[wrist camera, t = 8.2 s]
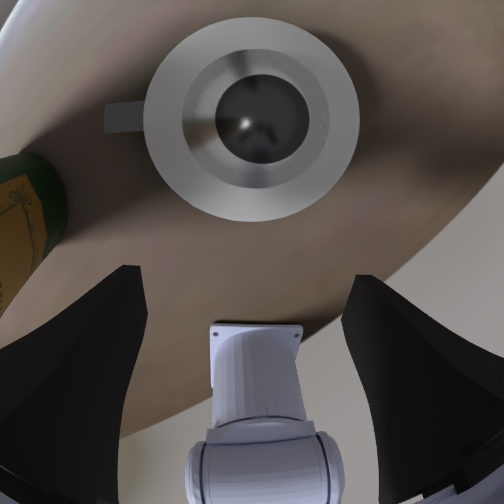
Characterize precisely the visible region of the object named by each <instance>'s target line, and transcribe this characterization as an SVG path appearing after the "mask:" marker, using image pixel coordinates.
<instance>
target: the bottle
mask: <svg viewBox="0 0 504 504" xmlns="http://www.w3.org/2000/svg"><path fill="white" fill-rule="evenodd" d="M66 221H67V211H66V204H65V195H64V188H63V187H62V185H61V183H60V181H59V179H58V178H57V176H56V174H55V172H54V170H53V168H52V166H51V164H49V163H48V162H46V161H45V160H43V159H42V158H40V157H39V156H37V155H36V154H34V153H33V152H28V153H22V154H17V155H12V156H8V157H5V158H1V159H0V318H1V316H2V315H3V313H4V312H5V310H6V309H7V307H8V306H9V304H10V303H11V302H12V300H13V299H14V297H15V296H16V295H17V293H18V292H19V290H20V289H21V288H22V286H23V285H24V284H25V283H26V281H27V280H28V279H29V277H30V276H31V275H32V274H33V272H34V271H35V270H36V269H37V267H38V266H39V265H40V264H41V262H42V261H43V260H44V259H45V258H46V257H47V255H48V254H49V253H50V252H51V251H52V250H53V248H54V247H55V246H56V245H57V244H58V243H59V242H60V241H61V237H62V234H63V230H64V227H65V224H66Z"/></svg>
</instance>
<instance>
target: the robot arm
mask: <svg viewBox="0 0 504 504" xmlns="http://www.w3.org/2000/svg"><path fill="white" fill-rule="evenodd" d="M147 316H148V312H147V306H146V301H145V295H144V289H143V282H142V276H141V269H140V266H133V265H122V266H121V267H119V268H118V269H116V270H115V271H114V272H112V273H111V274H110V275H108V276H107V277H106V278H105V279H103V280H102V281H101V282H100V283H98V284H97V285H96V286H94V287H93V288H92V289H91V290H89V291H88V292H87V293H86V294H84V295H83V296H82V297H81V298H79V299H78V300H77V301H75V302H74V303H73V304H71V305H70V306H69V307H67V308H66V309H65V310H63V311H62V312H61V313H59V314H58V315H57V316H55V317H54V318H52V319H51V320H49V321H48V322H46V323H45V324H43V325H42V326H40V327H39V328H37V329H35V330H34V331H32V332H31V333H29V334H27V335H26V336H24V337H22V338H20V339H18V340H16V341H14V342H13V343H11V344H9V345H7V346H5V347H4V348H2V349H0V504H119V501H118V481H117V469H118V468H117V467H118V447H119V435H120V426H121V419H122V412H123V405H124V401H125V396H126V392H127V389H128V385H129V382H130V379H131V375H132V372H133V369H134V366H135V363H136V360H137V356H138V353H139V350H140V347H141V344H142V341H143V336H144V332H145V327H146V321H147ZM341 322H342V326H343V331H344V335H345V339H346V342H347V346H348V348H349V351H350V354H351V356H352V359H353V362H354V364H355V367H356V369H357V372H358V375H359V377H360V380H361V382H362V385H363V388H364V391H365V393H366V397H367V400H368V403H369V407H370V412H371V416H372V421H373V425H374V432H375V438H376V445H377V455H378V466H379V504H399V503H402V502H404V501H406V500H409V499H411V498H413V497H416V496H418V495H420V494H422V495H423V498H424V499H423V500H421V501H419V502H416V503H414V504H504V358H503V357H500V356H498V355H495V354H493V353H491V352H489V351H487V350H485V349H482V348H481V347H479V346H476V345H474V344H473V343H470V342H469V341H467V340H465V339H464V338H462V337H460V336H459V335H457V334H455V333H453V332H452V331H450V330H449V329H447V328H446V327H444V326H443V325H441V324H440V323H438V322H437V321H435V320H434V319H433V318H431V317H429V316H428V315H427V314H426V313H424V312H423V311H421V310H420V309H419V308H417V307H416V306H414V305H413V304H412V303H410V302H409V301H408V300H407V299H405V298H404V297H403V296H401V295H400V294H399V293H397V292H396V291H394V290H393V289H392V288H390V287H389V286H388V285H386V284H385V283H383V282H382V281H380V280H379V279H377V278H376V277H374V276H372V275H356V277H355V280H354V283H353V286H352V289H351V292H350V295H349V298H348V301H347V304H346V306H345V309H344V312H343V315H342V318H341ZM214 332H217V333H214ZM295 334H297V335H295ZM302 334H303V327H302V326H301V325H256V324H224V323H213V324H212V325H211V326H210V360H211V387H212V388H213V413H212V414H213V417H212V429H207V430H206V441H199V442H197V443H196V444H195V446H194V447H193V448H192V449H191V450H190V451H189V453H188V456H187V461H186V469H185V484H186V493H187V498H188V501H189V504H341V497H342V495H343V492H344V485H345V477H344V468H343V462H342V458H341V454H340V451H339V448H338V446H337V443H336V442H335V440H334V439H333V438H332V437H330V436H329V435H328V434H327V433H326V432H324V431H320V432H315V427H314V422H313V421H307V418H306V412H305V408H304V403H303V398H302V393H301V389H300V384H299V379H298V375H297V370H296V366H295V358H296V355H297V352H298V348H299V345H300V342H301V338H302Z"/></svg>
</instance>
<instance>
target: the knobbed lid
mask: <svg viewBox="0 0 504 504" xmlns="http://www.w3.org/2000/svg"><path fill="white" fill-rule="evenodd" d="M329 125H330V113H329V106H328V102H327V98H326V96H325V93H324V91H323V89H322V87H321V85H320V83H319V82H318V80H317V79H316V78H315V76H314V75H313V74H312V73H311V72H310V71H309V70H308V69H307V68H306V67H305V66H304V65H302V64H301V63H300V62H298V61H296V60H295V59H293V58H291V57H289V56H287V55H285V54H282V53H279V52H276V51H272V50H266V49H245V50H240V51H235V52H232V53H229V54H226V55H224V56H222V57H220V58H218V59H216V60H215V61H213V62H212V63H210V64H209V65H208V66H207V67H205V68H204V69H203V70H202V71H201V72H200V73H199V75H198V76H197V77H196V78H195V79H194V81H193V83H192V84H191V86H190V88H189V90H188V92H187V94H186V97H185V100H184V104H183V110H182V127H183V134H184V137H185V140H186V143H187V145H188V147H189V150H190V152H191V153H192V155H193V156H194V158H195V159H196V160H197V162H198V163H199V164H200V165H201V166H202V167H203V168H204V169H205V170H206V171H207V172H208V173H210V174H211V175H213V176H214V177H216V178H217V179H219V180H221V181H223V182H225V183H228V184H231V185H234V186H238V187H242V188H249V189H262V188H270V187H274V186H279V185H281V184H284V183H287V182H289V181H291V180H293V179H295V178H296V177H298V176H299V175H301V174H302V173H303V172H305V171H306V170H307V169H308V168H309V167H310V166H311V165H312V164H313V163H314V162H315V160H316V159H317V158H318V156H319V155H320V153H321V151H322V149H323V147H324V145H325V142H326V139H327V137H328V132H329Z"/></svg>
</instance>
